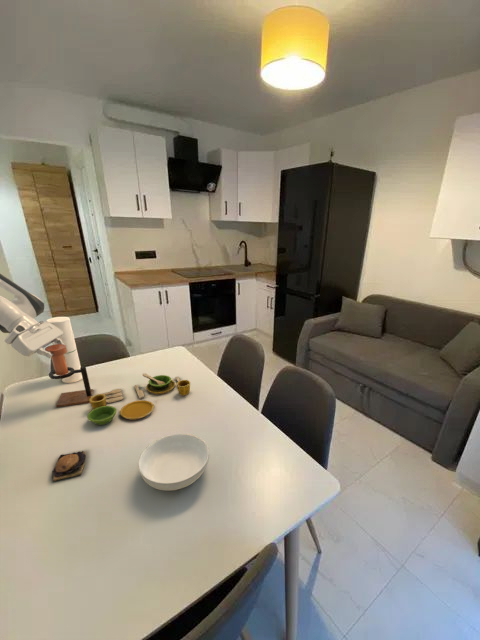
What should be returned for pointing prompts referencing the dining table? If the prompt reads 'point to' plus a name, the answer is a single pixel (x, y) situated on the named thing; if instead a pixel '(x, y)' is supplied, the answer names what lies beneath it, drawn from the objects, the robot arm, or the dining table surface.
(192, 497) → the dining table surface
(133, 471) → the dining table surface
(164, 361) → the dining table surface
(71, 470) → the open sandwich
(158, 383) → the tableware set
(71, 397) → the cup holder
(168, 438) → the serving bowl
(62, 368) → the orange wooden peg
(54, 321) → the container
